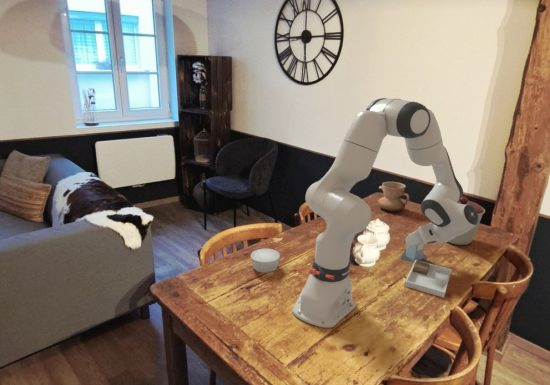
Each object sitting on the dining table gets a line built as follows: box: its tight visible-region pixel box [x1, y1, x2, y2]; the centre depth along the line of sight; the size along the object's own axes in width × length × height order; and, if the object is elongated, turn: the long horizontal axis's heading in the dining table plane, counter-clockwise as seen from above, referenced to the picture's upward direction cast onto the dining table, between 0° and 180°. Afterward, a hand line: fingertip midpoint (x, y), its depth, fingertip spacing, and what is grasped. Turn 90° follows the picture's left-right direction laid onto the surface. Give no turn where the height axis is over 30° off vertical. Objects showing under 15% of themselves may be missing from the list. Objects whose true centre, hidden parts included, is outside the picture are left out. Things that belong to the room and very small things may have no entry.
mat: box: [399, 249, 428, 263], centre depth 153 cm, size 9×9×1 cm
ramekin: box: [250, 248, 281, 274], centre depth 144 cm, size 11×11×5 cm
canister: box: [447, 196, 486, 246], centre depth 168 cm, size 18×18×21 cm
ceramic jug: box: [377, 181, 410, 212], centre depth 204 cm, size 18×14×14 cm
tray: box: [404, 260, 452, 298], centre depth 137 cm, size 18×13×3 cm
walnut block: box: [413, 260, 431, 275], centre depth 143 cm, size 5×5×2 cm
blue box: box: [405, 232, 426, 261], centre depth 152 cm, size 5×4×10 cm
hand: (417, 243), depth 150 cm, fingers open, 8 cm apart
